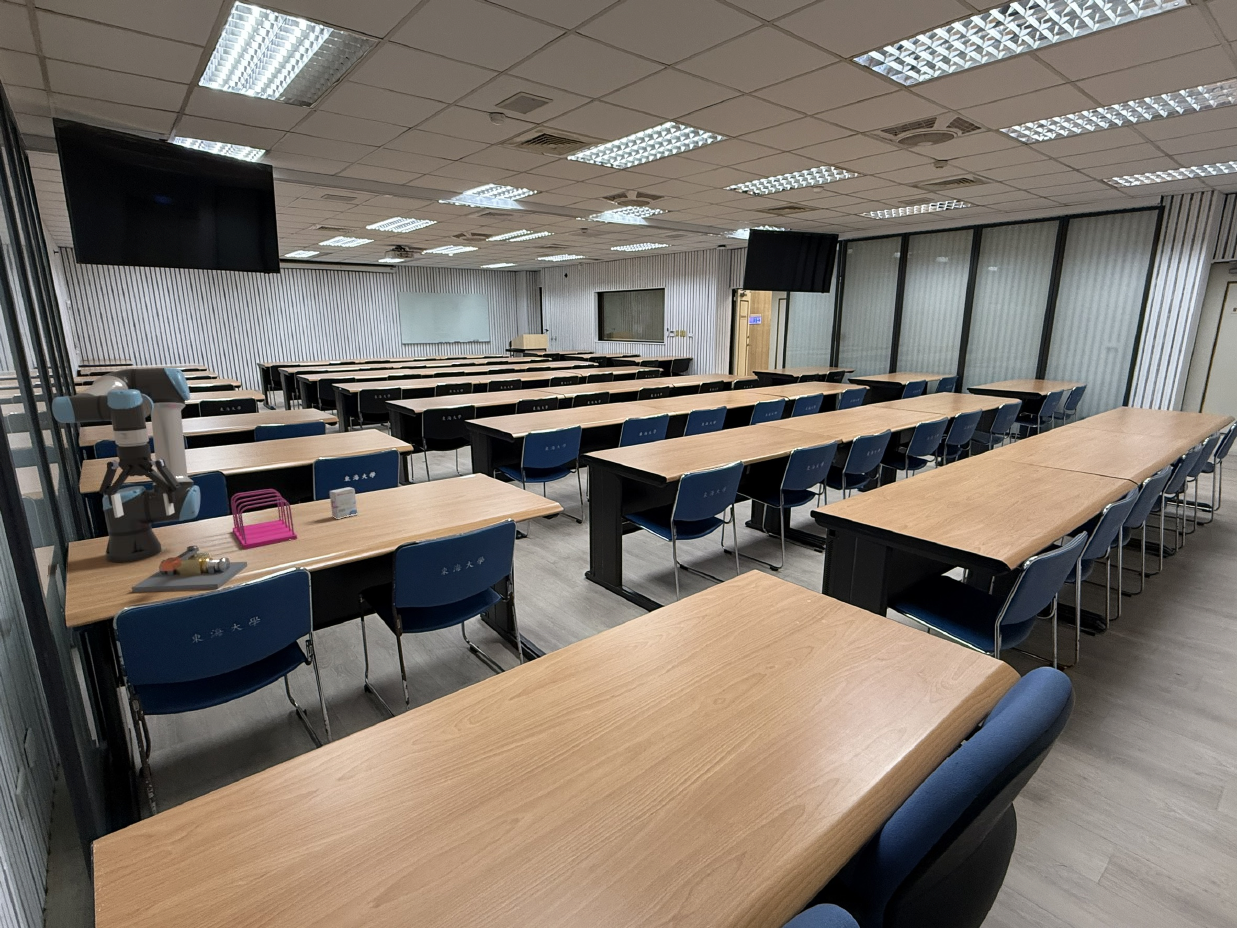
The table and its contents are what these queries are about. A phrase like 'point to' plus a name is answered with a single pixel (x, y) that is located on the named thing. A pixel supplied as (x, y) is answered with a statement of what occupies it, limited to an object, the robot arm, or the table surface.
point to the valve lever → (179, 559)
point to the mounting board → (188, 580)
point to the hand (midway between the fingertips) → (145, 515)
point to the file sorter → (262, 531)
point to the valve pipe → (199, 565)
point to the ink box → (343, 502)
